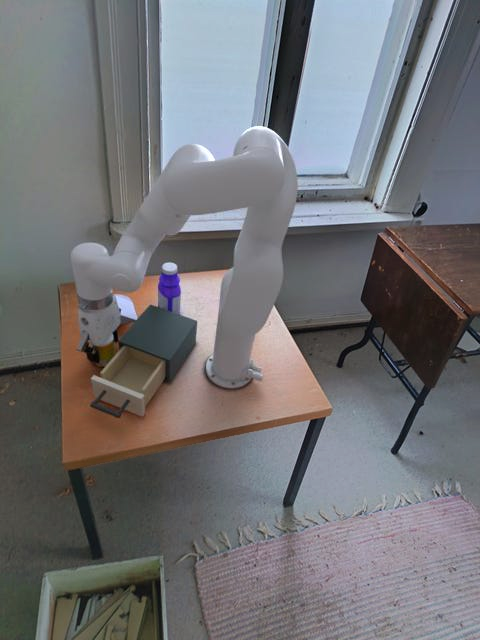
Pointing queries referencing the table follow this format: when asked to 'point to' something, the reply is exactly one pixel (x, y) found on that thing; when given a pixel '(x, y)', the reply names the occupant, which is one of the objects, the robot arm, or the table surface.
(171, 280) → the bottle
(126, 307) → the wedge on round base
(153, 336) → the cabinet
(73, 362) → the table surface
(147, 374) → the drawer
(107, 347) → the supplement bottle
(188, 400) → the table surface
